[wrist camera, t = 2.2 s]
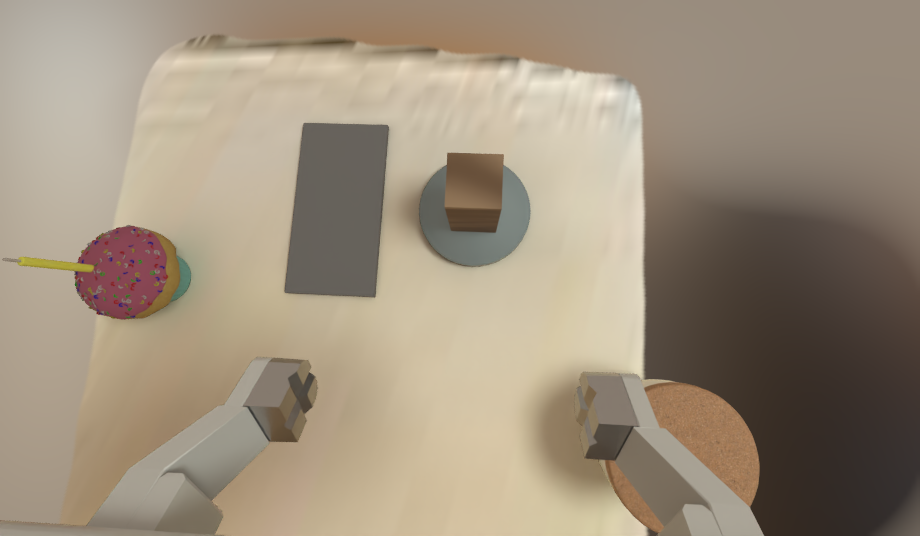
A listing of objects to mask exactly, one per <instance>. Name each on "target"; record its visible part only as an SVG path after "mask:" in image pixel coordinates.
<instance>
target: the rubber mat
mask: <svg viewBox="0 0 920 536" xmlns="http://www.w3.org/2000/svg"><path fill="white" fill-rule="evenodd" d="M388 131H389V127H388V125H364V124H326V123H304V125H303V134H302V143H301V152H300V161H299V170H298V178H297V187H296V196H295V205H294V214H293V223H292V232H291V241H290V250H289V259H288V267H287V276H286V285H285V293H301V294H321V295H342V296H363V297H375V294H376V281H377V269H378V256H379V244H380V231H381V219H382V206H383V194H384V181H385V169H386V156H387V144H388Z"/></svg>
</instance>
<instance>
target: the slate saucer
mask: <svg viewBox="0 0 920 536" xmlns="http://www.w3.org/2000/svg"><path fill="white" fill-rule="evenodd" d="M446 171H447V165H446V166H444V167H443V168H442V169H440V170H439V171H438V172H437V173H436V174H435V175H434V176H433V177H432V178H431V179H430V181H429V182H428V184H427V185H426V187H425V189H424V191H423V194H422V197H421V200H420V207H419V216H420V223H421V227H422V230H423V232H424V234H425V236H426V238H427V240H428V241H429V243H430V244H431V246H432V247H433V248H434V249H435V250H436V251H437V252H438V253H439V254H440V255H441V256H443V257H444V258H446V259H448V260H449V261H451V262H454V263H456V264H460V265H464V266H471V267H475V266H485V265H489V264H493V263H495V262H498V261H500V260H501V259H503V258H505V257H506V256H508V255H509V254H510V253H511V252H512V251H513V250H514V249H515V248H516V247H517V246H518V245H519V243H520V242H521V240H522V238H523V237H524V235H525V233H526V230H527V228H528V224H529V220H530V202H529V198H528V194H527V191H526V189H525V187H524V185H523V184H522V182H521V181H520V179H519V178H518V177H517V176H516V175H515V174H514V173H513V172H512V171H511V170H510V169H509V168H507V167H506V166H504V165H503V187H502V210H501V214H500V218H499V222H498V226H497V230H496V233H487V232H462V231H451V229H450V225H449V222H448V218H447V214H446V211H445V207H444V206H445V189H446Z"/></svg>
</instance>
